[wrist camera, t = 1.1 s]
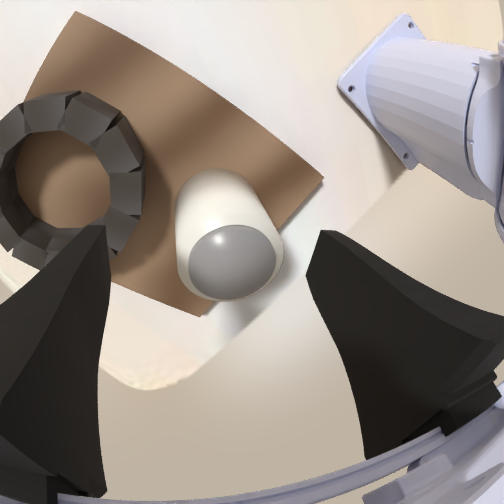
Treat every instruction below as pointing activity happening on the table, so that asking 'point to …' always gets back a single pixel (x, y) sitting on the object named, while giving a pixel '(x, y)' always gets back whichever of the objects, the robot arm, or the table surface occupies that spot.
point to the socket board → (170, 150)
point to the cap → (224, 237)
